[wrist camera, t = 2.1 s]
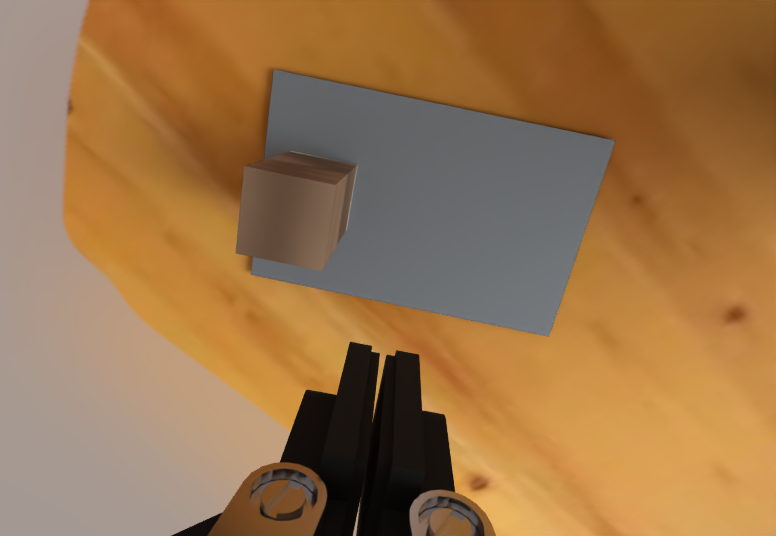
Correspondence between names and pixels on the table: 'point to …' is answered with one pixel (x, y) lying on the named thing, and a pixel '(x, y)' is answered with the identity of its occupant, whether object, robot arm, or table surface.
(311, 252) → the block
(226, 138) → the table surface
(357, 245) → the mat
